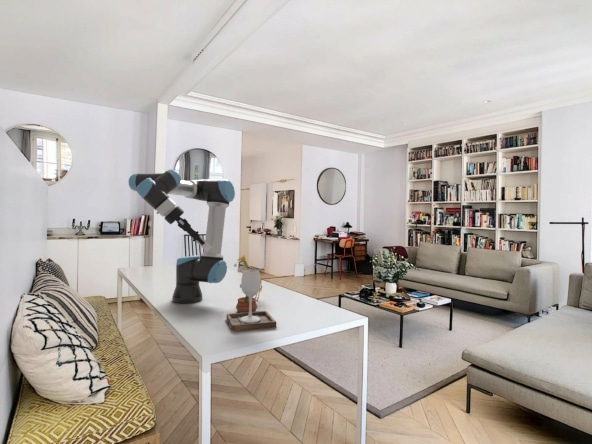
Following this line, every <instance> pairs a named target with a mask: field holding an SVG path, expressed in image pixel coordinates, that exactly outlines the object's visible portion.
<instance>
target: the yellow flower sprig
mask: <svg viewBox="0 0 592 444" xmlns="http://www.w3.org/2000/svg"><path fill="white" fill-rule="evenodd" d="M243 259H244V260H243ZM241 260H242V261H245V262H246V263H247V261H246V255H245V254H243V256H240V257H239V258H237V261H238V262H240V261H241ZM243 263H244V262H242V264H243ZM244 265H246V264H245V263H244V264H243V266H244ZM244 267H246V266H244ZM246 268H247V267H246ZM249 270H251V269H250V268H249ZM260 279H261V285H260V290H259V292H258V293H257V294H256V295H255V296H254V298H255V299H256V302H257V301H258V300H259V299H260V293H261V292H262V290H263V285H262V281H263V278H262V276H261V275H260Z"/></svg>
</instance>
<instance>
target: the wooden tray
mask: <svg viewBox="0 0 592 444" xmlns="http://www.w3.org/2000/svg"><path fill="white" fill-rule="evenodd" d="M248 315H249V312H244V313H241V312H235V313H234V312H231V313H226V317H225V318H226V321H227V324H228V326H229V328H230V330H231V332H232V333H233V332H234V333H236V332H237V333H238V332H245V331H246V332H247V331H255V330H264V329H265V330H266V329H267V330H268V329H269V330H270V329H276V328H277V321H276V319H275V318H274V317H273V316H272V315H271V314H270V313H269V312H268V311H267V310H260V311H257V310H256V311H254V312H252V316H257V317H259V318H260V321H258V322H255V323H245V322H241V321H240V318H242V317H244V316H248Z"/></svg>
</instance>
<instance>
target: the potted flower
mask: <svg viewBox="0 0 592 444" xmlns="http://www.w3.org/2000/svg"><path fill="white" fill-rule="evenodd" d="M243 260H244V259H243ZM243 262H244V263H245V264H246V265H244V263H243ZM237 263H238V264H237ZM241 263H242V264H241ZM240 265H241V268H240ZM244 266H246V267H247V268H246V267H244ZM233 267H234V268H236V267H237V272H238V273H241V272H242V271H244V270H249V269H250V267H249V264H248V263H247V261H246V262H245V261H242V260H239V261H238V262H236V263H234V264H233ZM255 270H258V271H259V267H256V269H255ZM239 288H240V289H242V288H241V283H240V284H239ZM256 300H257V298H256V299H255V297H253V298H252V312H257V309H258V305H257V303H256V302H257V301H256ZM235 308H236V309H235V310H237V311H238V313H244V312H249V297H248V296H246V295H245V296H244V297H239V298H237V303H236V306H235Z"/></svg>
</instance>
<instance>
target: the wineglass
mask: <svg viewBox="0 0 592 444" xmlns="http://www.w3.org/2000/svg"><path fill="white" fill-rule="evenodd" d="M260 276H261V273H260V271H259V269H258V270H256V269H250V270H242V276H241V279H240V280H241V282H240V284H241V288H240V289H241V291H242V293H243V294H244V295H245V297H246V296H248V297H249V315H248V316H244V317H242V318H240V321H241V322H245V323H255V322H258V321H260V318H259V317H257V316H252V298H254V297H256V294H257V295H258V294H259V290H260V288H261V285H262V284H261V279H260Z"/></svg>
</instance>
